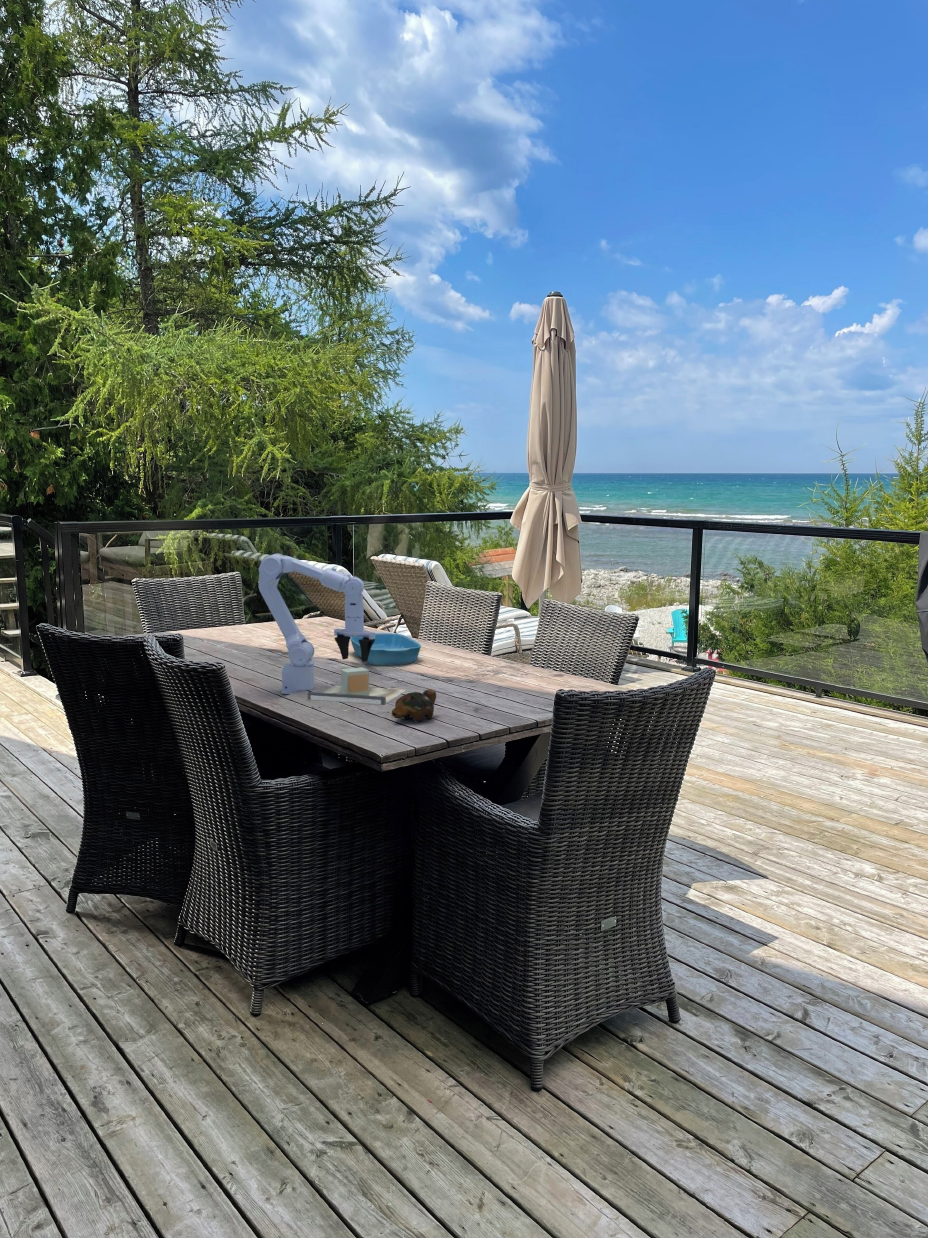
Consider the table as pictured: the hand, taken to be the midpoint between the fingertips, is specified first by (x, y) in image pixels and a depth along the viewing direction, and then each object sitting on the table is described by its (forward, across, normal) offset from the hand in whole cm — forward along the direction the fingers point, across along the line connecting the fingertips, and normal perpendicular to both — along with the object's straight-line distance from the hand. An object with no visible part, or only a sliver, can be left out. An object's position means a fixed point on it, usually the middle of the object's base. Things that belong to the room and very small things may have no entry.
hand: (354, 660), depth 281 cm
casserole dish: (+11, -26, +52) cm, 59 cm away
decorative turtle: (+11, +34, -17) cm, 40 cm away
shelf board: (+10, +6, -6) cm, 13 cm away
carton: (+9, +6, -8) cm, 14 cm away
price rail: (+10, +8, -15) cm, 20 cm away
